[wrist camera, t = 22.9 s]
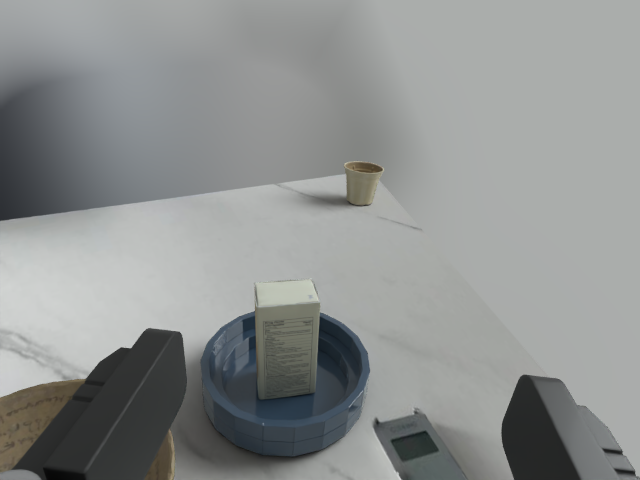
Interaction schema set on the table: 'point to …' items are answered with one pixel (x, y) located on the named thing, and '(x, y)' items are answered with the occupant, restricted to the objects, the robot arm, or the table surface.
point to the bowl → (36, 414)
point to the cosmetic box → (286, 337)
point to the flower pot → (362, 181)
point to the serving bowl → (286, 412)
